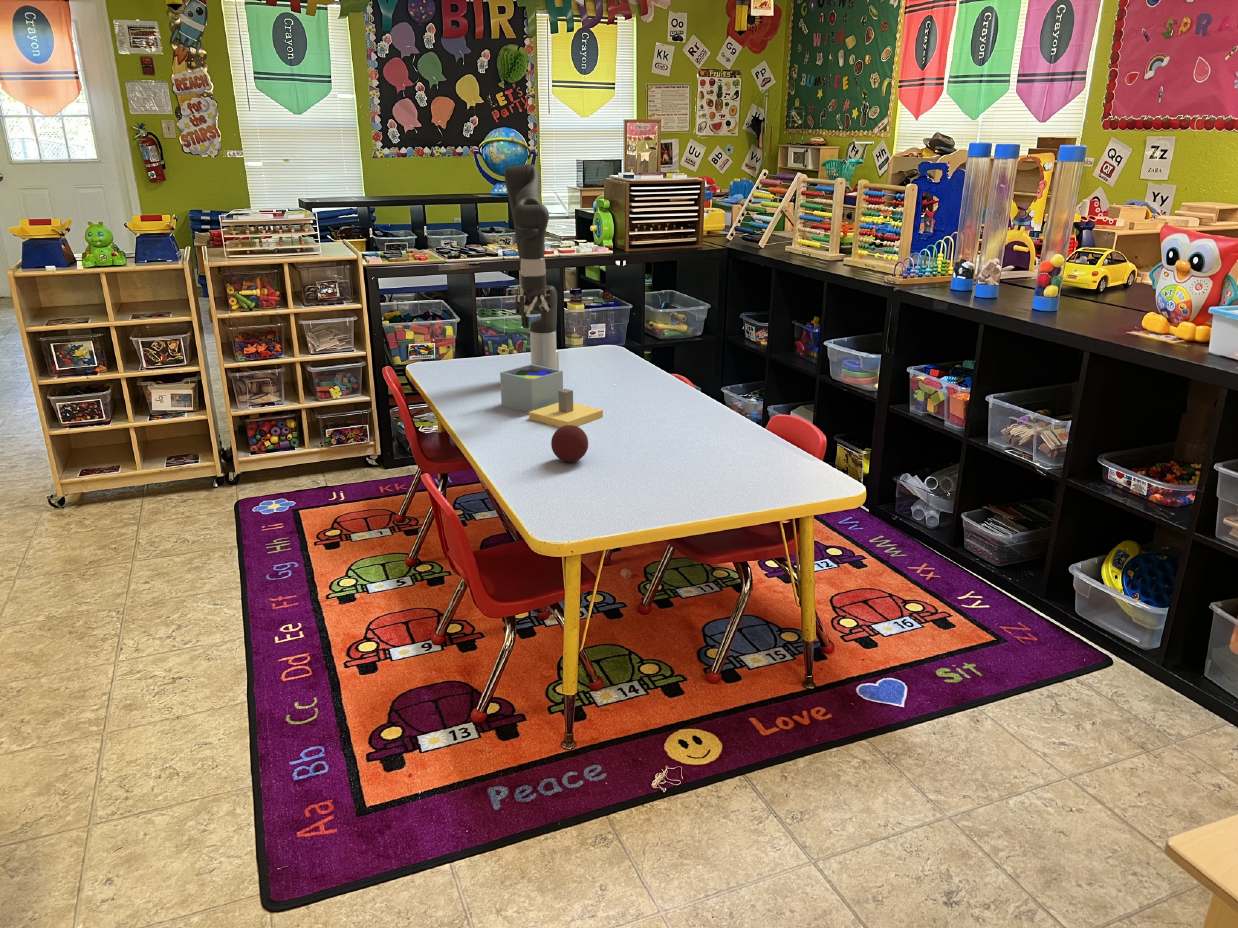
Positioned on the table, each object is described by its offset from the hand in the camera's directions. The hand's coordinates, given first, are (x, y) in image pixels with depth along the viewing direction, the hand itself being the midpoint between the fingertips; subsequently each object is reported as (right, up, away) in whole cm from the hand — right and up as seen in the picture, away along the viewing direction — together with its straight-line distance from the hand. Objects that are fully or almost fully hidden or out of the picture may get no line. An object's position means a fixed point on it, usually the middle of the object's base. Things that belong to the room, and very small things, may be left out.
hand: (535, 325), depth 278 cm
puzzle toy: (-2, -23, +15) cm, 28 cm away
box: (-2, -23, +15) cm, 28 cm away
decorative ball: (+13, -42, -35) cm, 56 cm away
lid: (+9, -28, +2) cm, 30 cm away
